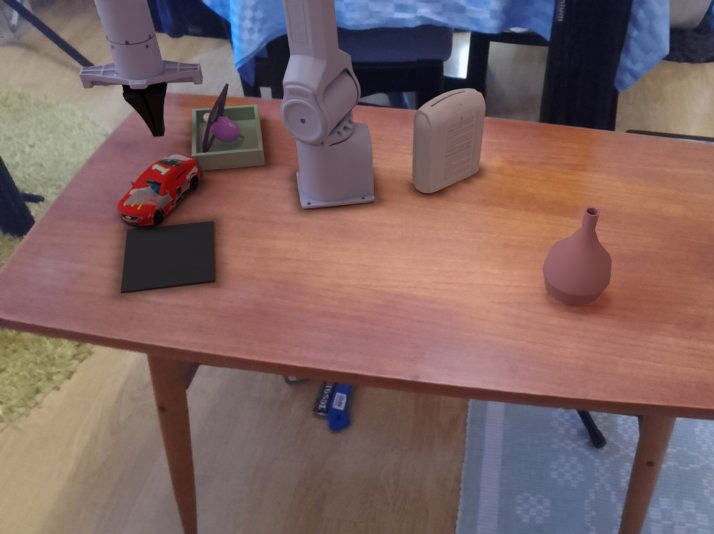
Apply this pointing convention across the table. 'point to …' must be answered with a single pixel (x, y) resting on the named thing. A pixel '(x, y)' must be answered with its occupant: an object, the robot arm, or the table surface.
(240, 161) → the sage tray
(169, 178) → the race car
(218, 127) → the purple finned figure
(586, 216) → the brown bulb vase
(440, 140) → the photo printer
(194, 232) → the charcoal mat
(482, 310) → the table surface
